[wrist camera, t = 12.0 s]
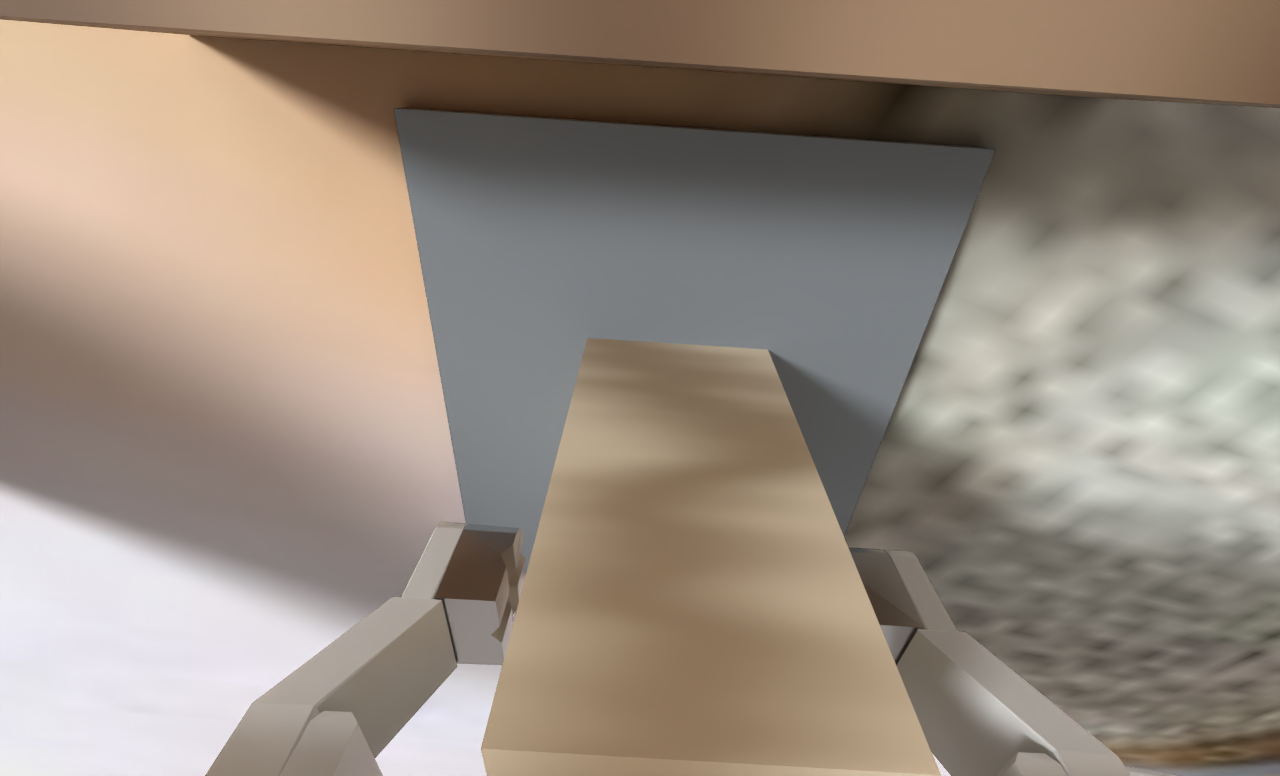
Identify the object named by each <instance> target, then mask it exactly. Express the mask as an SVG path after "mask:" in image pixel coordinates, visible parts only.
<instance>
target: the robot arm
mask: <svg viewBox="0 0 1280 776" xmlns="http://www.w3.org/2000/svg"><path fill="white" fill-rule="evenodd" d="M523 542H524V540H523V532H522V529H520V528H512V527H501V526H490V525H478V524H463V523H451V522H441V523H440V524H439V525H438V526H437V527H436V528H435V529H434V531H433V533H432V535H431V537H430V539H429V541H428V543H427V545H426V547H425V550H424V552H423V554H422V556H421V558H420V560H419V562H418V564H417V566H416V568H415V570H414V572H413V574H412V576H411V578H410V580H409V582H408V584H407V586H406V588H405V590H404V592H403V594H402V596H401V597H392V598H391V599H389V600H388V601H387V602H385V603H384V604H383V605H381V606H380V607H379V608H377V609H376V610H375V611H373V612H372V613H371V614H369V615H368V616H367V617H365V618H364V619H363V620H361V621H360V622H359V623H357V624H356V625H355V626H354V627H352V628H351V629H350V630H348V631H347V632H346V633H344V634H343V635H342V636H340V637H339V638H338V639H336V640H335V641H334V642H332V643H331V644H330V645H328V646H327V647H326V648H324V649H323V650H322V651H320V652H319V653H318V654H317V655H315V656H314V657H313V658H311V659H310V660H309V661H307V662H306V663H305V664H303V665H302V666H301V667H299V668H298V669H297V670H295V671H294V672H293V673H291V674H290V675H289V676H287V677H286V678H285V679H283V680H282V681H281V682H280V683H278V684H277V685H276V686H274V687H273V688H272V689H270V690H269V691H268V692H266V693H265V694H264V695H262V696H261V697H260V698H258V699H257V700H256V701H254V702H253V703H252V704H251V706H250V707H249V709H248V710H247V712H246V714H245V715H244V717H243V718H242V720H241V721H240V723H239V724H238V726H237V727H236V729H235V731H234V732H233V734H232V735H231V737H230V738H229V740H228V741H227V743H226V744H225V746H224V747H223V749H222V751H221V752H220V754H219V755H218V757H217V758H216V760H215V761H214V763H213V764H212V766H211V768H210V769H209V771H208V772H207V774H206V775H205V776H383V775H382V773H381V771H380V769H379V766H378V764H377V762H376V760H375V758H376V757H377V755H378V754H379V753H380V752H381V751H382V750H383V749H384V748H385V747H386V745H387V744H388V743H389V742H390V741H391V740H392V739H393V738H394V737H395V735H396V734H397V733H398V732H399V731H400V730H401V729H402V728H403V726H404V725H405V724H406V723H407V722H408V721H409V720H410V719H411V718H412V716H413V715H414V714H415V713H416V712H417V711H418V710H419V709H420V708H421V706H422V705H423V704H424V703H425V702H426V701H427V700H428V699H429V698H430V696H431V695H432V694H433V693H434V692H435V691H436V690H437V689H438V687H439V686H440V685H441V684H442V683H443V682H444V681H445V680H446V679H447V677H448V676H449V675H450V674H451V673H452V672H453V671H454V670H455V669H456V667H457V663H460V664H492V665H503V661H504V658H505V654H506V650H507V646H508V642H509V638H510V634H511V631H512V627H513V616H512V614H513V613H515V612H516V611H517V607H518V603H519V600H520V596H521V592H522V588H523V584H524V580H525V576H526V561H525V557H524V556H523V555H522V554H521V549H522V546H523ZM849 551H850V553H851V555H852V558H853V560H854V563H855V565H856V568H857V570H858V573H859V575H860V578H861V580H862V583H863V585H864V587H865V590H866V592H867V595H868V597H869V600H870V602H871V605H872V607H873V610H874V612H875V615H876V617H877V619H878V622H879V624H880V627H881V629H882V632H883V634H884V637H885V639H886V642H887V644H888V647H889V649H890V651H891V654H892V656H893V659H894V661H895V664H896V666H897V669H898V671H899V674H900V676H901V679H902V681H903V684H904V686H905V688H906V691H907V693H908V696H909V698H910V701H911V703H912V706H913V708H914V711H915V713H916V716H917V718H918V720H919V723H920V725H921V728H922V730H923V733H924V735H925V738H926V740H927V743H928V745H929V748H930V750H931V752H932V753H933V754H934V756H935V757H936V758H937V759H938V760H939V762H940V763H941V764H942V765H943V766H944V768H945V769H946V770H947V771H948V772H949V774H950V775H951V776H1179V775H1173V774H1167V773H1161V772H1155V771H1149V770H1143V769H1137V768H1131V767H1125V766H1124V765H1123V763H1122V762H1121V760H1120V759H1119V757H1118V756H1117V755H1116V754H1115V753H1113V752H1112V751H1111V750H1110V749H1109V748H1107V747H1106V746H1105V745H1104V744H1102V743H1101V742H1100V741H1099V740H1098V739H1096V738H1095V737H1094V736H1093V735H1091V734H1090V733H1089V732H1088V731H1086V730H1085V729H1084V728H1083V727H1082V726H1080V725H1079V724H1078V723H1077V722H1075V721H1074V720H1073V719H1072V718H1071V717H1069V716H1068V715H1067V714H1066V713H1064V712H1063V711H1062V710H1061V709H1060V708H1058V707H1057V706H1056V705H1055V704H1053V703H1052V702H1051V701H1050V700H1049V699H1047V698H1046V697H1045V696H1044V695H1042V694H1041V693H1040V692H1039V691H1037V690H1036V689H1035V688H1034V687H1033V686H1031V685H1030V684H1029V683H1028V682H1026V681H1025V680H1024V679H1023V678H1022V677H1020V676H1019V675H1018V674H1017V673H1015V672H1014V671H1013V670H1012V669H1011V668H1009V667H1008V666H1007V665H1006V664H1004V663H1003V662H1002V661H1001V660H999V659H998V658H997V657H996V656H995V655H993V654H992V653H991V652H990V651H988V650H987V649H986V648H985V647H984V646H982V645H981V644H980V643H979V642H977V641H976V640H975V639H974V638H973V637H971V636H970V635H969V634H968V633H966V632H961V631H957V630H956V628H955V626H954V624H953V622H952V621H951V619H950V617H949V615H948V613H947V612H946V610H945V608H944V606H943V604H942V602H941V601H940V599H939V597H938V595H937V593H936V592H935V590H934V588H933V586H932V584H931V582H930V581H929V579H928V577H927V575H926V573H925V572H924V570H923V568H922V566H921V564H920V562H919V561H918V559H917V557H916V556H915V555H914V554H913V553H912V552H911V551H897V550H880V549H866V548H849Z"/></svg>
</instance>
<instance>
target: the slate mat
mask: <svg viewBox="0 0 1280 776" xmlns="http://www.w3.org/2000/svg"><path fill="white" fill-rule="evenodd" d="M394 113H395V119H396V125H397V130H398V136H399V142H400V148H401V153H402V159H403V165H404V171H405V176H406V182H407V188H408V193H409V199H410V205H411V211H412V216H413V222H414V228H415V234H416V239H417V245H418V251H419V257H420V262H421V268H422V274H423V280H424V285H425V291H426V297H427V302H428V308H429V314H430V320H431V325H432V331H433V337H434V343H435V348H436V354H437V360H438V366H439V371H440V377H441V383H442V388H443V394H444V400H445V406H446V411H447V417H448V423H449V429H450V434H451V440H452V446H453V452H454V457H455V463H456V469H457V475H458V480H459V486H460V492H461V497H462V503H463V509H464V515H465V520H466V524H478V525H490V526H501V527H512V528H520V529H522V532H523V540H524V542H523V546H522V549H521V554H522V555H523V556H524V557H525V561H526V573H527V569H528V565H529V561H530V557H531V553H532V549H533V546H534V542H535V538H536V534H537V530H538V526H539V522H540V519H541V515H542V511H543V507H544V503H545V499H546V495H547V492H548V488H549V484H550V480H551V476H552V472H553V468H554V465H555V461H556V457H557V453H558V449H559V445H560V441H561V437H562V434H563V430H564V426H565V422H566V418H567V414H568V410H569V407H570V403H571V399H572V395H573V391H574V387H575V383H576V380H577V376H578V372H579V368H580V364H581V360H582V356H583V353H584V349H585V345H586V341H587V338H597V339H613V340H628V341H644V342H659V343H675V344H690V345H705V346H721V347H736V348H752V349H767V350H768V351H769V354H770V356H771V358H772V361H773V363H774V366H775V368H776V371H777V373H778V376H779V378H780V381H781V383H782V386H783V388H784V390H785V393H786V395H787V398H788V400H789V403H790V405H791V408H792V410H793V413H794V415H795V418H796V420H797V422H798V425H799V427H800V430H801V432H802V435H803V437H804V440H805V442H806V445H807V447H808V450H809V452H810V454H811V457H812V459H813V462H814V464H815V467H816V469H817V472H818V474H819V477H820V479H821V482H822V484H823V486H824V489H825V491H826V494H827V496H828V499H829V501H830V504H831V506H832V509H833V511H834V514H835V516H836V519H837V521H838V523H839V526H840V528H841V531H842V533H843V536H844V535H845V532H846V530H847V527H848V525H849V522H850V520H851V517H852V515H853V512H854V509H855V507H856V504H857V502H858V499H859V497H860V494H861V492H862V489H863V487H864V484H865V481H866V479H867V476H868V474H869V471H870V469H871V466H872V464H873V461H874V458H875V456H876V453H877V451H878V448H879V446H880V443H881V441H882V438H883V436H884V433H885V430H886V428H887V425H888V423H889V420H890V418H891V415H892V413H893V410H894V407H895V405H896V402H897V400H898V397H899V395H900V392H901V390H902V387H903V384H904V382H905V379H906V377H907V374H908V372H909V369H910V367H911V364H912V362H913V359H914V356H915V354H916V351H917V349H918V346H919V344H920V341H921V339H922V336H923V333H924V331H925V328H926V326H927V323H928V321H929V318H930V316H931V313H932V311H933V308H934V305H935V303H936V300H937V298H938V295H939V293H940V290H941V288H942V285H943V282H944V280H945V277H946V275H947V272H948V270H949V267H950V265H951V262H952V260H953V257H954V254H955V252H956V249H957V247H958V244H959V242H960V239H961V237H962V234H963V231H964V229H965V226H966V224H967V221H968V219H969V216H970V214H971V211H972V209H973V206H974V203H975V201H976V198H977V196H978V193H979V191H980V188H981V186H982V183H983V180H984V178H985V175H986V173H987V170H988V168H989V165H990V163H991V160H992V158H993V155H994V152H995V150H994V149H990V148H985V147H973V146H958V145H943V144H929V143H914V142H899V141H885V140H870V139H855V138H841V137H826V136H811V135H797V134H782V133H767V132H753V131H738V130H723V129H709V128H694V127H679V126H665V125H650V124H636V123H621V122H606V121H592V120H577V119H562V118H548V117H533V116H518V115H504V114H489V113H474V112H460V111H445V110H430V109H416V108H396V109H394Z"/></svg>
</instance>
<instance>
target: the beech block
mask: <svg viewBox="0 0 1280 776" xmlns="http://www.w3.org/2000/svg"><path fill="white" fill-rule="evenodd" d="M481 751H482V756H483V760H484V764H485V769H486V773H487V776H940V772H939V770H938V767H937V765H936V762H935V760H934V757H933V755H932V752H931V750H930V748H929V745H928V743H927V740H926V738H925V735H924V733H923V730H922V728H921V725H920V723H919V720H918V718H917V716H916V713H915V711H914V708H913V706H912V703H911V701H910V698H909V696H908V693H907V691H906V688H905V686H904V684H903V681H902V679H901V676H900V674H899V671H898V669H897V666H896V664H895V661H894V659H893V656H892V654H891V651H890V649H889V647H888V644H887V642H886V639H885V637H884V634H883V632H882V629H881V627H880V624H879V622H878V619H877V617H876V615H875V612H874V610H873V607H872V605H871V602H870V600H869V597H868V595H867V592H866V590H865V587H864V585H863V583H862V580H861V578H860V575H859V573H858V570H857V568H856V565H855V563H854V560H853V558H852V555H851V553H850V551H849V548H848V546H847V543H846V541H845V538H844V536H843V533H842V531H841V528H840V526H839V523H838V521H837V519H836V516H835V514H834V511H833V509H832V506H831V504H830V501H829V499H828V496H827V494H826V491H825V489H824V486H823V484H822V482H821V479H820V477H819V474H818V472H817V469H816V467H815V464H814V462H813V459H812V457H811V454H810V452H809V450H808V447H807V445H806V442H805V440H804V437H803V435H802V432H801V430H800V427H799V425H798V422H797V420H796V418H795V415H794V413H793V410H792V408H791V405H790V403H789V400H788V398H787V395H786V393H785V390H784V388H783V386H782V383H781V381H780V378H779V376H778V373H777V371H776V368H775V366H774V363H773V361H772V358H771V356H770V354H769V351H768V350H767V349H752V348H736V347H721V346H705V345H690V344H675V343H659V342H644V341H628V340H613V339H597V338H587V341H586V345H585V349H584V353H583V356H582V360H581V364H580V368H579V372H578V376H577V380H576V383H575V387H574V391H573V395H572V399H571V403H570V407H569V410H568V414H567V418H566V422H565V426H564V430H563V434H562V437H561V441H560V445H559V449H558V453H557V457H556V461H555V465H554V468H553V472H552V476H551V480H550V484H549V488H548V492H547V495H546V499H545V503H544V507H543V511H542V515H541V519H540V522H539V526H538V530H537V534H536V538H535V542H534V546H533V549H532V553H531V557H530V561H529V565H528V569H527V573H526V576H525V580H524V584H523V588H522V592H521V596H520V600H519V603H518V607H517V611H516V615H515V619H514V623H513V627H512V631H511V634H510V638H509V642H508V646H507V650H506V654H505V658H504V661H503V665H502V669H501V673H500V677H499V681H498V685H497V688H496V692H495V696H494V700H493V704H492V708H491V712H490V715H489V719H488V723H487V727H486V731H485V735H484V739H483V742H482V746H481Z"/></svg>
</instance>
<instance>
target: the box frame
mask: <svg viewBox="0 0 1280 776" xmlns="http://www.w3.org/2000/svg"><path fill="white" fill-rule="evenodd" d="M0 19H4V20H16V21H28V22H40V23H52V24H64V25H76V26H89V27H101V28H113V29H125V30H137V31H149V32H161V33H173V34H185V35H199V36H214V37H228V38H243V39H257V40H272V41H286V42H301V43H315V44H330V45H344V46H358V47H373V48H387V49H402V50H416V51H431V52H445V53H460V54H474V55H488V56H503V57H517V58H532V59H546V60H561V61H575V62H590V63H604V64H619V65H633V66H647V67H662V68H676V69H691V70H705V71H720V72H734V73H749V74H763V75H777V76H792V77H806V78H821V79H835V80H850V81H864V82H879V83H893V84H908V85H922V86H936V87H951V88H965V89H980V90H994V91H1009V92H1023V93H1038V94H1052V95H1066V96H1081V97H1095V98H1111V99H1129V100H1147V101H1165V102H1183V103H1202V104H1220V105H1238V106H1256V107H1274V108H1280V0H0Z"/></svg>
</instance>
